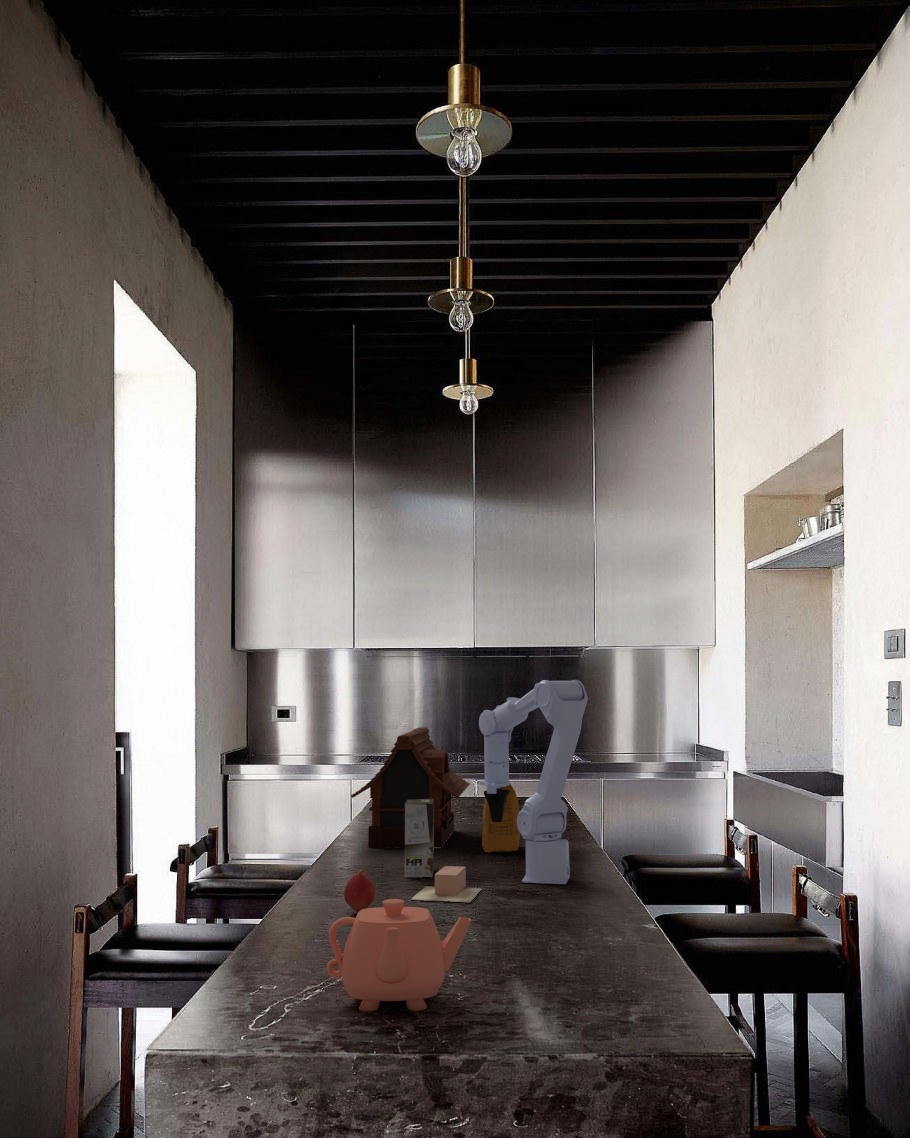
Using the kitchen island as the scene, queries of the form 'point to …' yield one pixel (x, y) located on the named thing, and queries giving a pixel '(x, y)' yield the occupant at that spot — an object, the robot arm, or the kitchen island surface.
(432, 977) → the teapot
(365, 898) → the onion
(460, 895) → the birch board
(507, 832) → the coffee package
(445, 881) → the tall block
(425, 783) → the house
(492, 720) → the robot arm
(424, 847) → the coffee box
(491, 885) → the kitchen island surface
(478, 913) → the kitchen island surface
